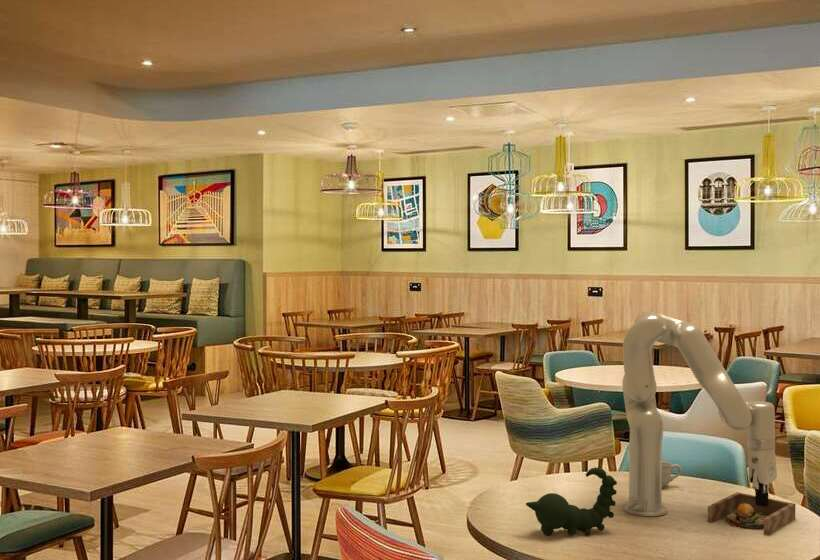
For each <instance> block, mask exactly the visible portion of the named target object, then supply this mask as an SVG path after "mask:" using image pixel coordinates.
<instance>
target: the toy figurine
mask: <svg viewBox="0 0 820 560" xmlns="http://www.w3.org/2000/svg"><path fill="white" fill-rule="evenodd" d="M592 475H594V476H597V477H598V479H600V480H601V483H602V484H601V485H600V486H599V494H598V495H597V497H596V502H595V503H594V504H593V505H592V507H591V508H580V507H578V506H576V505H575V504H569V502H568V501H567V499H566V498H565V497H564V496H563V495H560V494H558V493H555V492H553V493H551V492H550V493H546V494H544V495H542V496H541V497H539V499H538V500H536V501H530V502H529V501H528V502H526V503H525V506H527V507H528V508H530V509H531V510H532V511H534V513H535V517H536V520H537V522H538V523H539V524H540V525H541V526H540V531H541V533H542V534H544V536H547V537H549V536H551V535H552V534H554V530H558V529H563V530H565V531H567V533H568V534H569V535H570V536H574V535H576V534H577V533H578V532H577V531H579V532H583V534H584V535H585V536H590V535H591V534H592V529H593V528H596V529H597V530H598V531H601V532H602V531H604V530H605V524H604V523H603V522H604V519H606V518H607V517H608V518H609V519H613V518H614V516H615V513H614V512H613V511H611V508H610V507H611V506H612V507H614V506H616V501H615V500H614V499H613V496H615V495H617V489H615V488H614V486H616V485H617V484H618V481H617V480H615V478H614V477H613V476H612V475H609V474H608V475H607V471H606V470H605V469H603V468H602V467H592V468H590V469H588V471H586V473H585V477H586V478H587V477H589V476H592Z"/></svg>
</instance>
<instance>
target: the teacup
mask: <svg viewBox="0 0 820 560" xmlns="http://www.w3.org/2000/svg"><path fill="white" fill-rule="evenodd" d="M675 468H677V469H678V471H677V473H675V474H674V475H672V472H673V469H675ZM682 471H683V470H682V467H681V465H679V464H678V463H677V464H676V463H674V464H672V463H671V462H670V461H669V462H668V461H664V460H662V488H666V486H667V485H668V484H670V483H671V482H673V480H675V479H676V478H678V477H679V476H680V475H681V474H682Z"/></svg>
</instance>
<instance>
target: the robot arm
mask: <svg viewBox="0 0 820 560" xmlns="http://www.w3.org/2000/svg"><path fill="white" fill-rule="evenodd" d="M656 342H658V343H660V344H665V345H667V346H671V347H675V348H677V349H678V351H679V352H680V354H681V356H682V358H683V359H684V361H685V363H686V364H687V365H688V367H689V369H690V370H691V373H692V374H693V376H694V378H695V379H696V381H697V382H698V384H699V385H700V386H701V387H702V388H703V389H704V390H705V391H706V393H707V394H708V395H709V397H710V399H712V401H713V403H714V404H715V406H716V407H717V409H718V412H717V413H718V416H719V418H720V420H721V421H722V422H723V423H724V424H725V425H726V426H728V428H730V429H732V430H734V431H737V432H741V431H744V430H747V449H748V450H749V451H748V453H749V454H748V467H747V468H748V471H747V473H748V475H747V476H748V481H749V483H751V484H752V485H751V486H752V489H753V490H754V493H755V495H754V496H755V502H756V505H758V506H764V507H766V506H768V499H769V491H770V484H771V483H772V482H774V481H775V480H777V475H778V473H777V458H776V457H777V456H776V424H775V423H776V419H775V418H776V417H775V416H776V414H775V413H776V412H775V411H776V410H775V406H774V404H773V403H772V402H769V401H762V400H760V401H759V400H758V401H757V400H756V401H745V399H744V398H743V396H742V395H741V393H740V392H739V390H738V389H737V387H736V385H735V384H734V382H733V380H732V379H731V377H730V375H729V374H728V373H727V370H726V369H725V368H724V365H723V364H722V363H721V361H720V358H718V356H717V354H716V352H715V351H714V349H713V348H712V346H711V344H710V342H709V341H708V339H707V337H706V336H705V334H704V332H703V331H702V330H701V328H700V327H698V326H697V325H696V324H694V323H691V322H688V321H685V320H680V319H677V318H674V317H671V316H667V315H664V314H661V313H658V312H655V311H650V310H649V311H648V310H645V311H642V312H641V313H639V314H638V315H637V316H636V317H635V320H634V324H633V325H631V326H630V328H629V329H628V331H627V333H626V334H625V337H624V339H623V342H622V361H623V370H624V375H623V377H622V384H621V385H622V393H623V401H624V408H625V409H624V410H625V413H626V414H625V415H626V420H627V422H628V423H627V424H628V425H629V447H628V448H629V449H628V458H629V459H628V463H629V464H628V468H629V469H628V472H629V473H628V501H627V502H625V503H623V504H622V508H623V510H624V511H625V512H626V513H629V514H631V515H636V516H640V517H660V516H663V515H666V514H667V511H668V509H667V506H665V505H664V504H662V498H663V497H662V494H663V493H662V490H663V487H662V461H663V458H662V456H663V437H664V422H663V418H662V416H661V414H660V413H659V411H658V407H657V401H656V400H657V399H656V392H657V382H656V377H655V371H654V370H655V369H654V365H653V363H654V362H653V348H654V344H655V343H656Z"/></svg>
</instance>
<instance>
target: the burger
mask: <svg viewBox="0 0 820 560" xmlns="http://www.w3.org/2000/svg"><path fill="white" fill-rule="evenodd" d="M742 502H743V501H742ZM766 517H767V516H764V515H762V514H760V513H758V512H754V511H753V507H752V506H751V505H749V504H746V503H743V504H740V505H739V506H738V507H737V510H736V511H733V512H731V513H728V514H727V515H725V522H727V524H728V525H730V526H731V525H732V526H733V527H734V528H738V527H740V528H739V529H744V530H756V531H757V530H759V531H760V530H764V518H766Z"/></svg>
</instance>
